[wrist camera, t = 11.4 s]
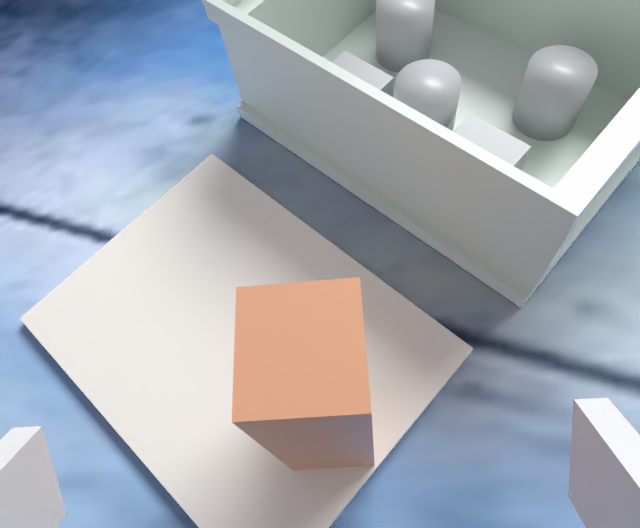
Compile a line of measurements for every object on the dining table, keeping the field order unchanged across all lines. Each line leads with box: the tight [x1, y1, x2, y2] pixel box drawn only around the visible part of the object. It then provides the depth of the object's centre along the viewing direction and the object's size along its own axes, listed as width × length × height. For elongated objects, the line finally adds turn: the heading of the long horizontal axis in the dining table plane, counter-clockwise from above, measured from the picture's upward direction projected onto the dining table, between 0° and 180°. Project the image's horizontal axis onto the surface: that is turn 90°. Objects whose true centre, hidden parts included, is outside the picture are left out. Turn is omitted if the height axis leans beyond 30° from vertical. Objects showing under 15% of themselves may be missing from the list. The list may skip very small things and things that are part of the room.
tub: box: [202, 0, 640, 308], centre depth 24 cm, size 17×13×7 cm
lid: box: [20, 154, 473, 528], centre depth 18 cm, size 16×12×10 cm
